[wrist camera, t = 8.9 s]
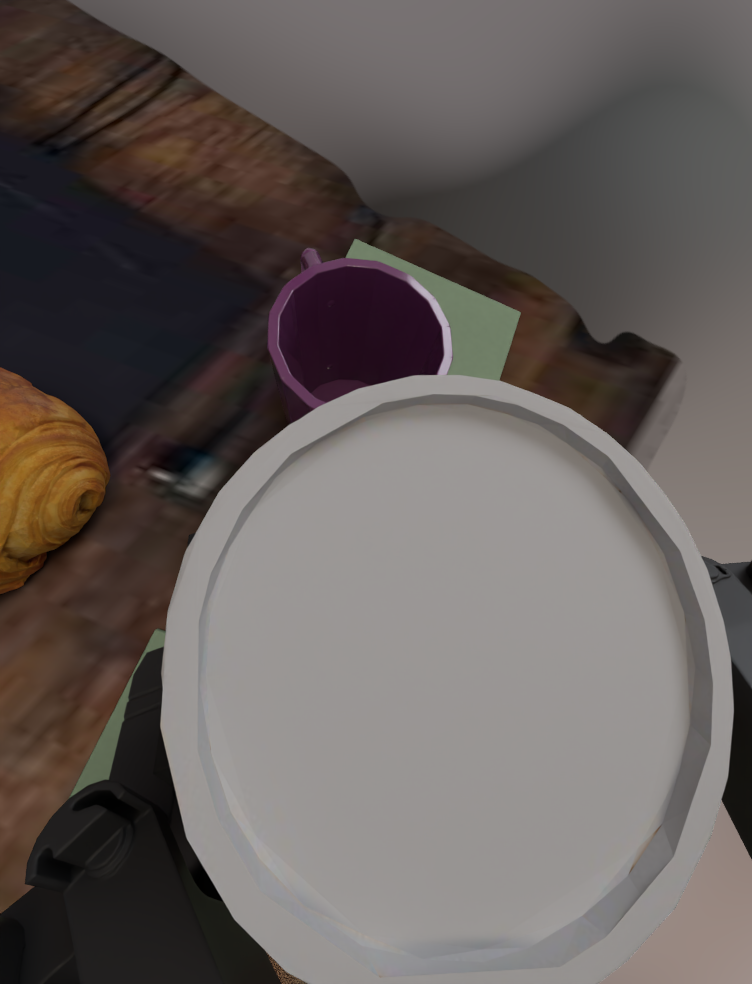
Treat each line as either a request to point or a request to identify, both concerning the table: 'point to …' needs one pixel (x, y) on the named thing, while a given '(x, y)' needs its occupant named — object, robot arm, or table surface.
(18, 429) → the croissant
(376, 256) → the mug mat
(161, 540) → the table surface
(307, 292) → the plum mug
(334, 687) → the disposable coffee cup
